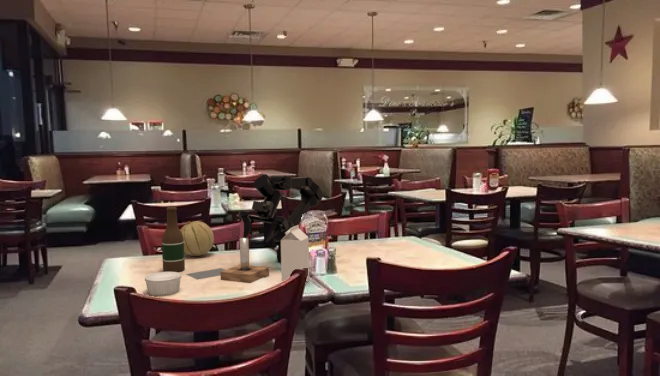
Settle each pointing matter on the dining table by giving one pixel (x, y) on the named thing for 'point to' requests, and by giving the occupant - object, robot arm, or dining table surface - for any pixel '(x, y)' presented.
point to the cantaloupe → (197, 238)
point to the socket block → (245, 274)
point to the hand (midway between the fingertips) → (255, 239)
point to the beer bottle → (173, 244)
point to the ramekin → (163, 283)
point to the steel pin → (244, 254)
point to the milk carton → (294, 252)
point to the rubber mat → (206, 273)
